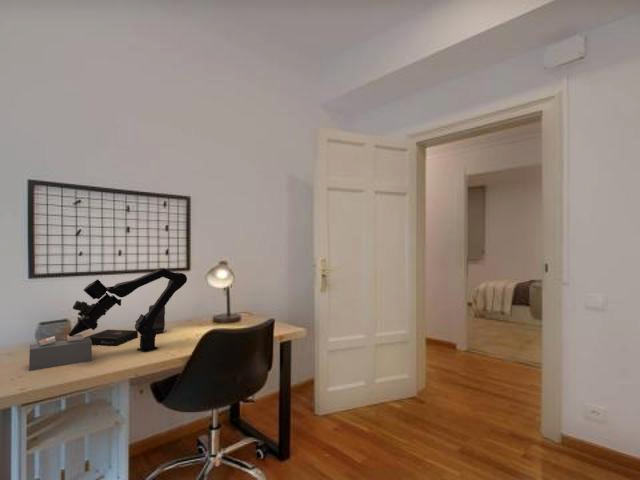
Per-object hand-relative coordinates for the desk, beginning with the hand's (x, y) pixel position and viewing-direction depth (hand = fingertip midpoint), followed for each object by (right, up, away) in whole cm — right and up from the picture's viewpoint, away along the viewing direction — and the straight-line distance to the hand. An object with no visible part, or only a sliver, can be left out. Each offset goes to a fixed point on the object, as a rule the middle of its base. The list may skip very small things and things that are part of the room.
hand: (69, 335), depth 147 cm
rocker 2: (+2, -1, +1) cm, 2 cm away
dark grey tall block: (+13, -12, +49) cm, 52 cm away
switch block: (-2, -11, -2) cm, 11 cm away
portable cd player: (-1, -12, +32) cm, 34 cm away
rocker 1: (-6, -1, -4) cm, 7 cm away
